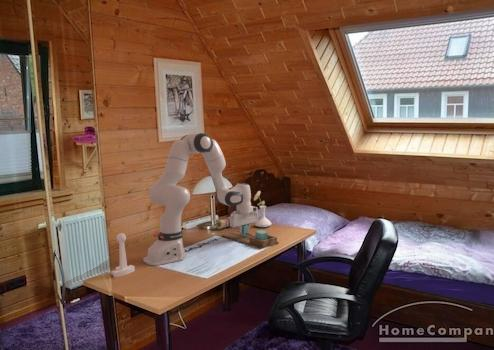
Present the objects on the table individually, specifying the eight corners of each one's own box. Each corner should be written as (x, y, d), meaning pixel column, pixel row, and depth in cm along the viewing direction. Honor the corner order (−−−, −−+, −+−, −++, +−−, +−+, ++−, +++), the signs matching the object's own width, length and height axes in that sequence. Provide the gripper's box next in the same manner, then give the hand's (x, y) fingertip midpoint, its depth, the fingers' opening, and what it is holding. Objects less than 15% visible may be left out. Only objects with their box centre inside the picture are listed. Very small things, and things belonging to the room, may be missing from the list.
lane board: (261, 249, 233) (260, 242, 233) (221, 236, 260) (221, 230, 260) (278, 243, 242) (278, 237, 242) (238, 232, 269) (238, 226, 269)
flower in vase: (263, 223, 290) (262, 188, 287) (275, 226, 282) (274, 189, 278) (249, 227, 281) (248, 190, 278) (261, 230, 273) (260, 192, 270)
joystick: (116, 277, 196) (113, 236, 194) (107, 274, 201) (104, 234, 199) (136, 271, 204) (133, 231, 202) (127, 267, 209) (125, 229, 207)
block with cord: (260, 243, 239) (261, 233, 238) (239, 235, 254) (239, 225, 252) (267, 242, 243) (267, 232, 241) (245, 233, 257) (245, 224, 256)
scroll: (223, 229, 272) (245, 223, 286) (220, 218, 273) (241, 213, 287) (216, 232, 277) (238, 226, 291) (213, 221, 278) (234, 216, 292)
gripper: (233, 212, 243) (234, 236, 244) (259, 207, 256) (260, 229, 258) (227, 211, 247) (227, 234, 249) (252, 205, 261) (253, 227, 262)
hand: (244, 231), depth 253 cm, fingers closed on block with cord, 3 cm apart
